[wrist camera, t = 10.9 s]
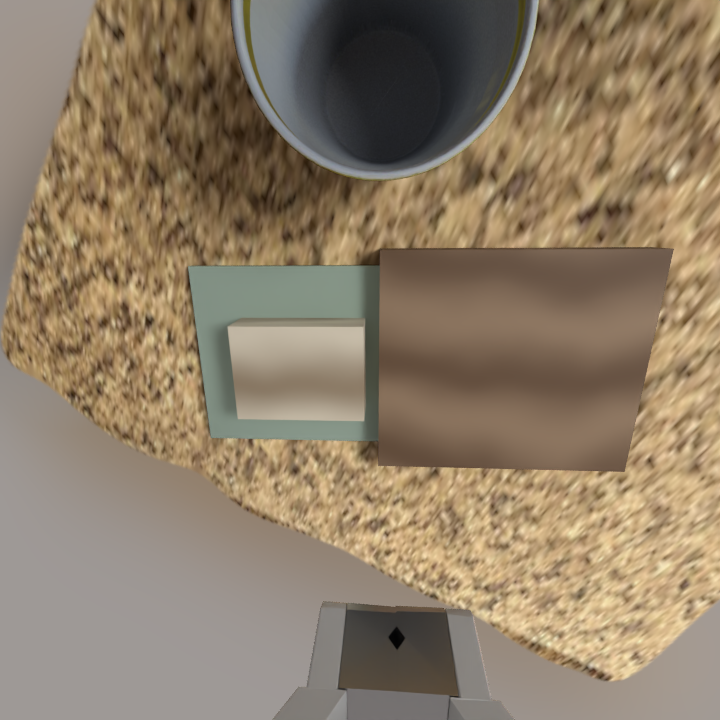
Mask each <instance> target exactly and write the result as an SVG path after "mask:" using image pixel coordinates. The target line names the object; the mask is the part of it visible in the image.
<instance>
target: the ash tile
mask: <svg viewBox="0 0 720 720" xmlns="http://www.w3.org/2000/svg"><path fill="white" fill-rule="evenodd" d="M228 336H229V345H230V354H231V363H232V371H233V380H234V389H235V398H236V407H237V416H238V419H257V420H320V421H364V418H365V408H366V348H365V318H240V319H239V320H237V321H236V322H234V323H232V324H231V325H229V326H228Z"/></svg>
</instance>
